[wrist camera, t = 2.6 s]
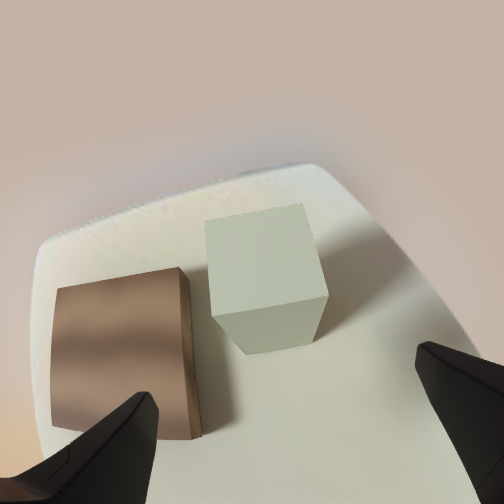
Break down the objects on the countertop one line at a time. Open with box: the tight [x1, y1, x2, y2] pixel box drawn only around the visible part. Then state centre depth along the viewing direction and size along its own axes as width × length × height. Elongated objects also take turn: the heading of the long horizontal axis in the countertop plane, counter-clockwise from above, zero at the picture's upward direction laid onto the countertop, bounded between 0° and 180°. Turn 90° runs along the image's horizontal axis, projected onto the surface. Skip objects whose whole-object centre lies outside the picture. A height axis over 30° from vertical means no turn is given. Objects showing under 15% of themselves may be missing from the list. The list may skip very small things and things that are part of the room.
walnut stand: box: [50, 267, 202, 440], centre depth 20 cm, size 13×13×2 cm
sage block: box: [205, 203, 329, 355], centre depth 17 cm, size 5×5×10 cm
